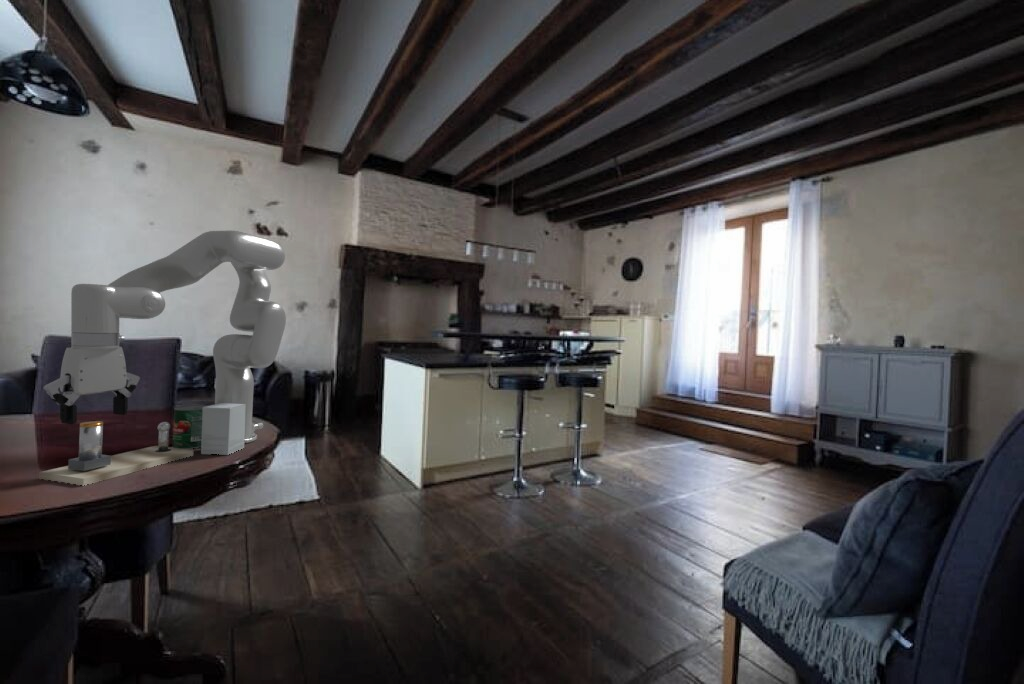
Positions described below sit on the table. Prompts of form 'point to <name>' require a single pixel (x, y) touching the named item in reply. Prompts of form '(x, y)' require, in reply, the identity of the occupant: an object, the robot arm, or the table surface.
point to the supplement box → (223, 428)
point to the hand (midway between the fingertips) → (95, 418)
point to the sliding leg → (90, 448)
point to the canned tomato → (187, 426)
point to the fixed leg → (163, 436)
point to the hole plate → (117, 465)
